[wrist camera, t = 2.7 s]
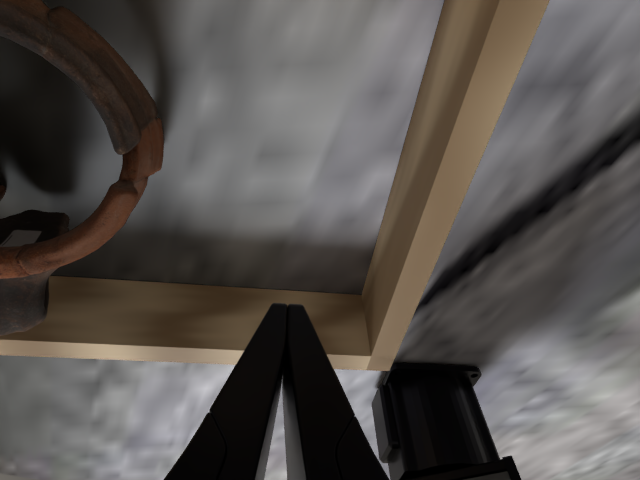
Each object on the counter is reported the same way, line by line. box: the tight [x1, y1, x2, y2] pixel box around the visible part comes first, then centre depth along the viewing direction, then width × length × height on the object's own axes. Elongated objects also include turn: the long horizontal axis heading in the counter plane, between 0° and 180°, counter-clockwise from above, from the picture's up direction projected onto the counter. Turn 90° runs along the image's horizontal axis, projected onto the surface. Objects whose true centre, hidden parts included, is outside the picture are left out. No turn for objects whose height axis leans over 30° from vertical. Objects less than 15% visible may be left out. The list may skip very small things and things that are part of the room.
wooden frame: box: [0, 0, 550, 371], centre depth 14 cm, size 21×17×4 cm
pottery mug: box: [0, 0, 164, 336], centre depth 13 cm, size 12×10×8 cm
